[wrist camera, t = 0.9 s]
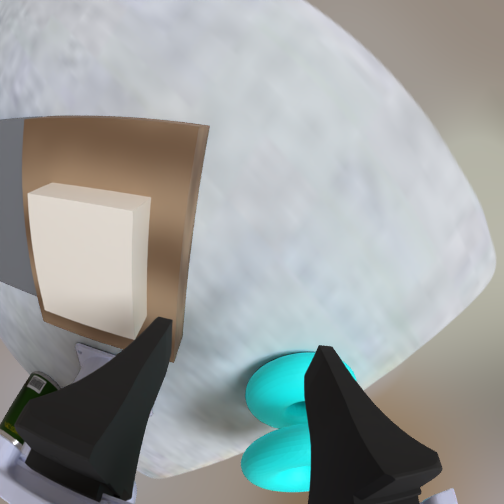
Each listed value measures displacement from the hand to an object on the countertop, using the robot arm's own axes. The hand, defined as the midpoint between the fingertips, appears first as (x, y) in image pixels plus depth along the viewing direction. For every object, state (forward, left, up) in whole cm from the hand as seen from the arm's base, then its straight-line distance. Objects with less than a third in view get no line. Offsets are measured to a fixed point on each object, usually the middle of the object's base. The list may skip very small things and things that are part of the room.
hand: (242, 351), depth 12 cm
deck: (0, +10, -8) cm, 13 cm away
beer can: (-24, +23, -9) cm, 35 cm away
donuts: (-11, -7, -9) cm, 16 cm away
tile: (0, +10, -5) cm, 11 cm away
